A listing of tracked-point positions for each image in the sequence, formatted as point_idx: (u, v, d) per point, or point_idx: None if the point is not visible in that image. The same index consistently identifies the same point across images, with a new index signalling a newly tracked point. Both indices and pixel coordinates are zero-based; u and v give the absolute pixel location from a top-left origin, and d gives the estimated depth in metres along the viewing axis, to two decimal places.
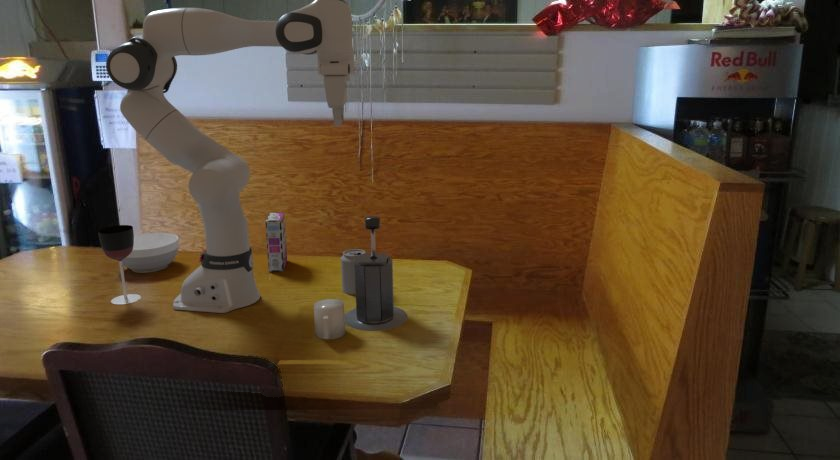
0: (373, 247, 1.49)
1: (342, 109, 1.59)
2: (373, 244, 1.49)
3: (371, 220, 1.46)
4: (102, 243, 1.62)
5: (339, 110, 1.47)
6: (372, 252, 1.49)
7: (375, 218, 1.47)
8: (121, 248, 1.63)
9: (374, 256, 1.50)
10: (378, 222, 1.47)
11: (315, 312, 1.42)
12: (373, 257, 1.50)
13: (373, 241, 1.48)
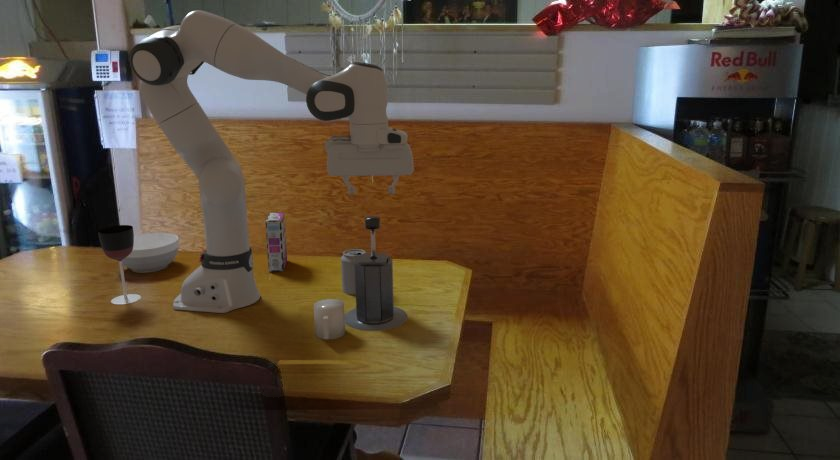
0: (373, 247, 1.49)
1: None
2: (373, 244, 1.49)
3: (371, 220, 1.46)
4: (102, 243, 1.62)
5: None
6: (372, 252, 1.49)
7: (375, 218, 1.47)
8: (121, 248, 1.63)
9: (374, 256, 1.50)
10: (378, 222, 1.47)
11: (315, 312, 1.42)
12: (373, 257, 1.50)
13: (373, 241, 1.48)
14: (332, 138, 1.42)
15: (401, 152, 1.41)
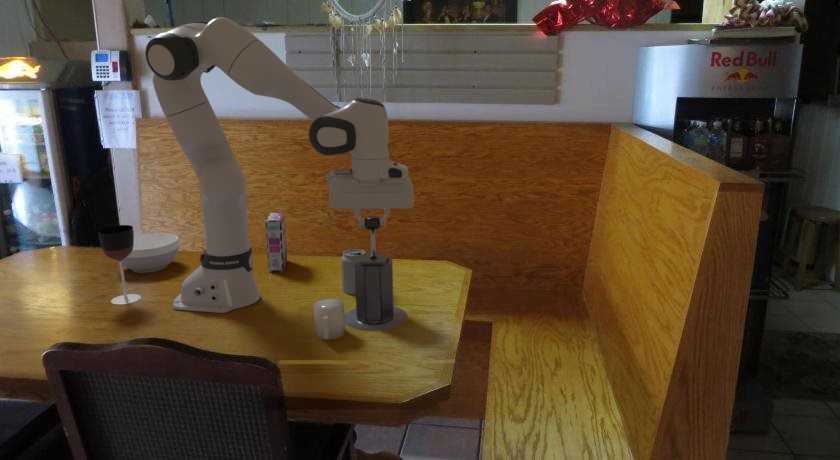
0: (373, 247, 1.49)
1: (358, 212, 1.48)
2: (373, 244, 1.49)
3: (371, 220, 1.46)
4: (102, 243, 1.62)
5: None
6: (372, 252, 1.49)
7: (375, 218, 1.47)
8: (121, 248, 1.63)
9: (374, 256, 1.50)
10: (378, 222, 1.47)
11: (315, 312, 1.42)
12: (373, 257, 1.50)
13: (373, 241, 1.48)
14: (334, 172, 1.44)
15: (401, 186, 1.43)
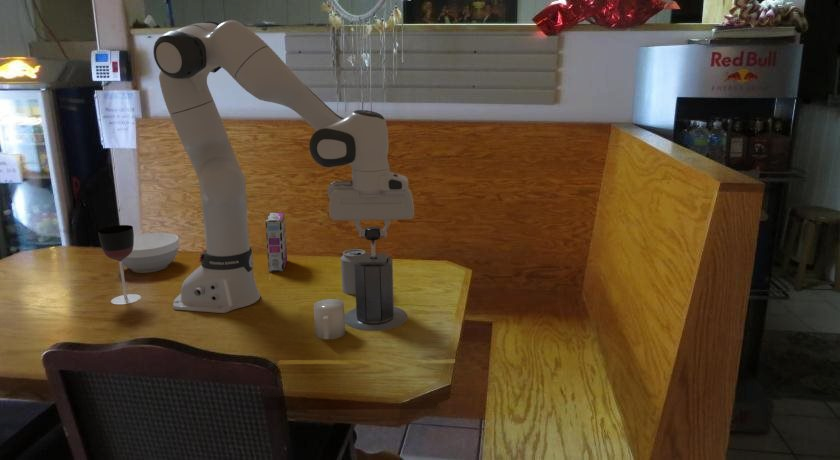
0: (373, 258, 1.50)
1: (359, 223, 1.48)
2: (373, 255, 1.49)
3: (371, 231, 1.46)
4: (102, 243, 1.62)
5: (390, 220, 1.48)
6: None
7: (375, 229, 1.47)
8: (121, 248, 1.63)
9: None
10: (378, 233, 1.47)
11: (315, 312, 1.42)
12: None
13: (373, 252, 1.49)
14: (334, 183, 1.45)
15: (402, 197, 1.44)
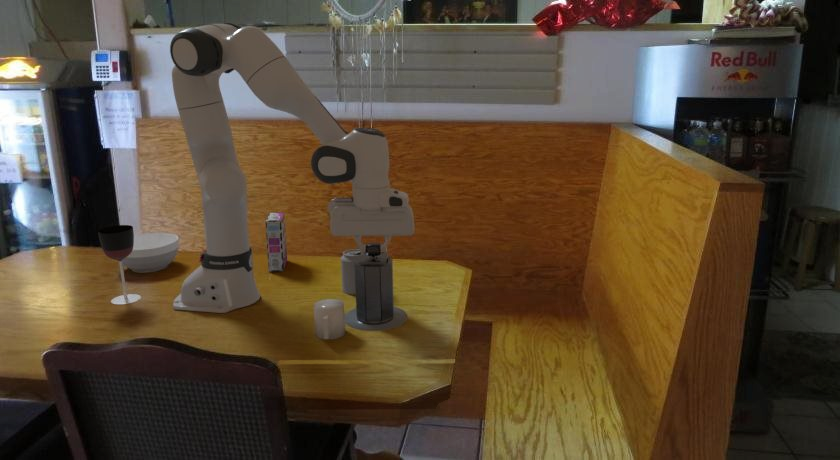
0: None
1: (359, 239, 1.50)
2: None
3: (372, 247, 1.47)
4: (102, 243, 1.62)
5: None
6: None
7: (376, 245, 1.48)
8: (121, 248, 1.63)
9: None
10: (379, 249, 1.48)
11: (315, 312, 1.42)
12: None
13: None
14: (335, 200, 1.46)
15: (402, 214, 1.45)
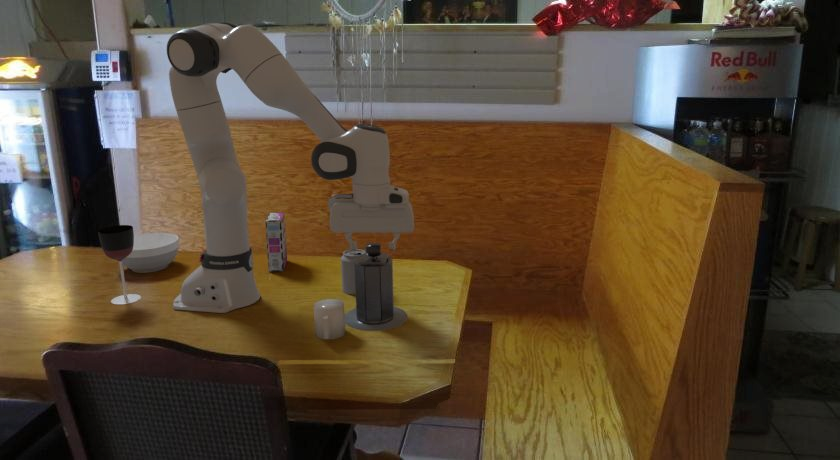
0: None
1: None
2: None
3: (372, 247, 1.48)
4: (102, 243, 1.62)
5: (399, 233, 1.49)
6: None
7: (376, 245, 1.48)
8: (121, 248, 1.63)
9: None
10: (379, 249, 1.48)
11: (315, 312, 1.42)
12: None
13: None
14: (335, 196, 1.46)
15: (402, 211, 1.45)
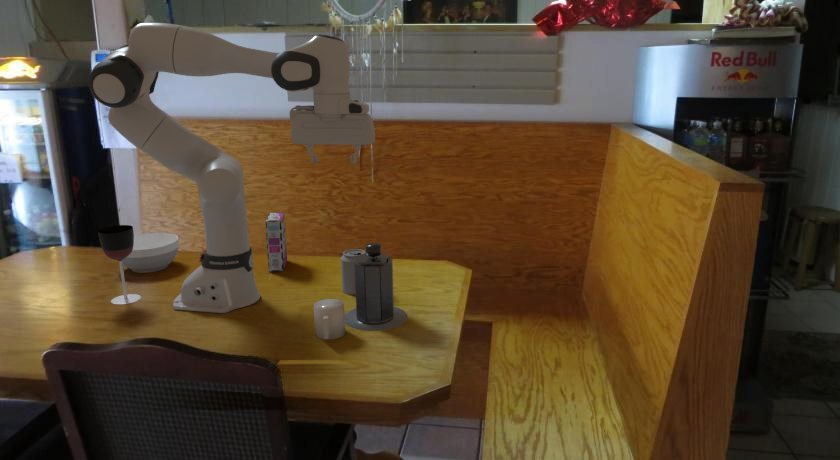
0: None
1: (311, 149, 1.52)
2: None
3: (372, 247, 1.48)
4: (102, 243, 1.62)
5: (360, 147, 1.51)
6: None
7: (376, 245, 1.48)
8: (121, 248, 1.63)
9: None
10: (379, 249, 1.48)
11: (315, 312, 1.42)
12: None
13: None
14: (296, 107, 1.48)
15: (362, 122, 1.47)
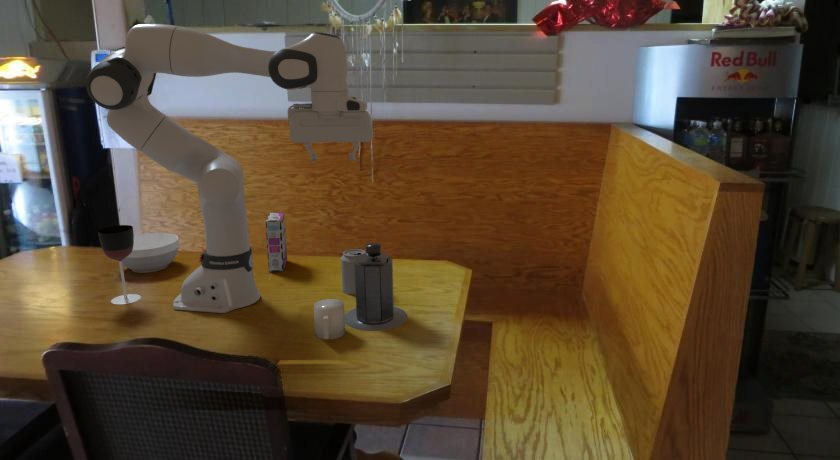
0: None
1: (310, 147, 1.52)
2: None
3: (372, 247, 1.48)
4: (102, 243, 1.62)
5: None
6: None
7: (376, 245, 1.48)
8: (121, 248, 1.63)
9: None
10: (379, 249, 1.48)
11: (315, 312, 1.42)
12: None
13: None
14: (294, 106, 1.48)
15: (360, 119, 1.47)
